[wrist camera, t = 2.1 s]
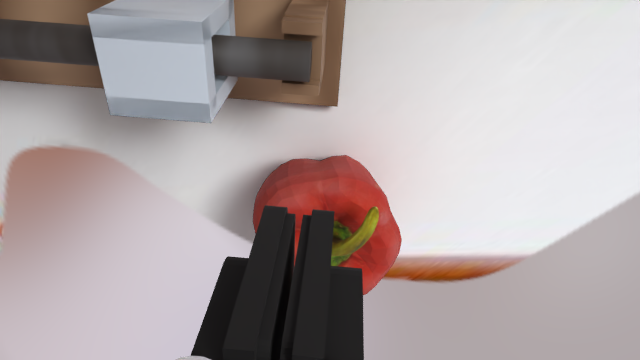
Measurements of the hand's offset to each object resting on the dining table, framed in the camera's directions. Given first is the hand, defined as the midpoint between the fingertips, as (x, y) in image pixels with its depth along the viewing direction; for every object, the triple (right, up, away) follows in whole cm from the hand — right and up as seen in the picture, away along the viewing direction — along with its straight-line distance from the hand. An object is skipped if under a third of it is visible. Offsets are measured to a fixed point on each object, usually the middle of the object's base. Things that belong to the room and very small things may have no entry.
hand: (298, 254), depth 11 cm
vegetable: (+1, +2, +24) cm, 24 cm away
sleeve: (-7, +10, +14) cm, 19 cm away
